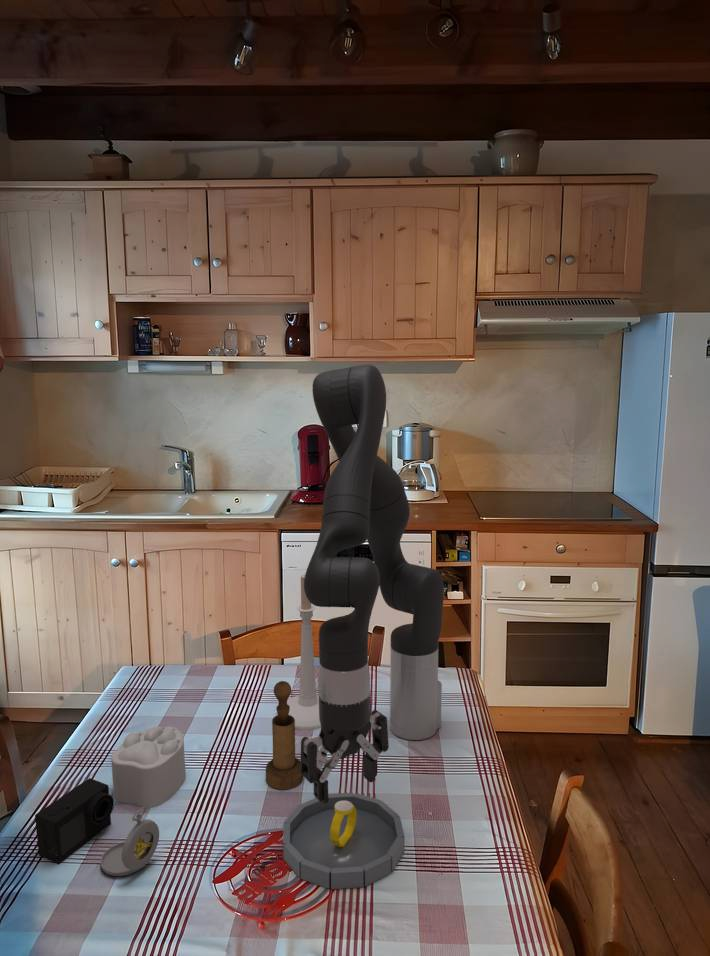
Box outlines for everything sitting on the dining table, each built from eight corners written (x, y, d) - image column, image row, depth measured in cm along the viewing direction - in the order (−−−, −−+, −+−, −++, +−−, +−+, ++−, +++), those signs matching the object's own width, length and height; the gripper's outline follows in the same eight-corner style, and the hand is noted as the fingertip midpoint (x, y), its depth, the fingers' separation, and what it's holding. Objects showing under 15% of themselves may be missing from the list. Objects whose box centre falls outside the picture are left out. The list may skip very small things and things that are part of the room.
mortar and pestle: (297, 792, 123) (295, 693, 119) (260, 787, 124) (257, 690, 121) (307, 769, 129) (305, 675, 126) (272, 765, 130) (270, 672, 127)
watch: (344, 828, 113) (345, 792, 112) (360, 834, 112) (361, 797, 111) (325, 849, 107) (326, 812, 107) (341, 855, 106) (342, 817, 106)
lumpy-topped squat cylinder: (105, 799, 121) (101, 752, 119) (148, 757, 133) (146, 714, 132) (159, 811, 118) (156, 762, 116) (199, 767, 130) (197, 722, 129)
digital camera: (63, 868, 105) (59, 825, 104) (38, 856, 108) (34, 814, 106) (117, 826, 114) (114, 786, 113) (92, 816, 117) (89, 777, 115)
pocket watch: (107, 848, 109) (102, 788, 107) (164, 845, 110) (160, 785, 108) (92, 888, 101) (87, 824, 99) (153, 884, 102) (150, 820, 100)
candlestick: (351, 708, 150) (350, 570, 145) (315, 736, 140) (313, 588, 134) (301, 693, 157) (299, 560, 152) (264, 718, 147) (259, 577, 141)
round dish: (358, 793, 122) (357, 780, 122) (427, 854, 107) (427, 839, 107) (262, 834, 112) (262, 820, 111) (324, 907, 97) (324, 891, 97)
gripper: (368, 667, 112) (369, 761, 115) (288, 694, 104) (292, 795, 107) (398, 685, 106) (399, 785, 109) (316, 715, 98) (319, 822, 101)
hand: (346, 789), depth 108 cm, fingers open, 8 cm apart
